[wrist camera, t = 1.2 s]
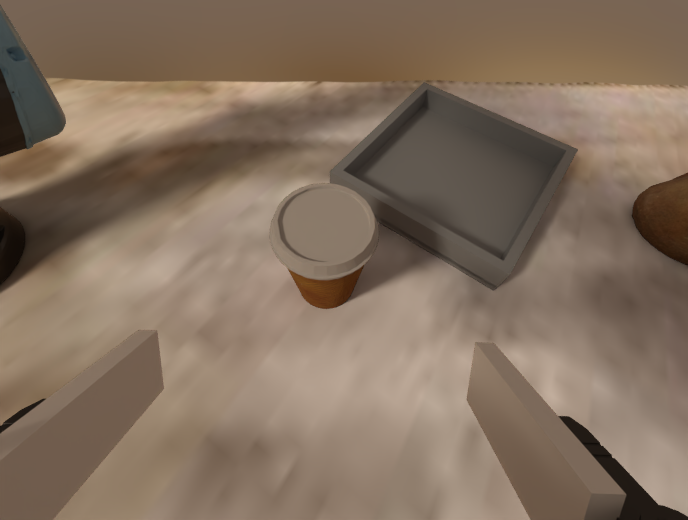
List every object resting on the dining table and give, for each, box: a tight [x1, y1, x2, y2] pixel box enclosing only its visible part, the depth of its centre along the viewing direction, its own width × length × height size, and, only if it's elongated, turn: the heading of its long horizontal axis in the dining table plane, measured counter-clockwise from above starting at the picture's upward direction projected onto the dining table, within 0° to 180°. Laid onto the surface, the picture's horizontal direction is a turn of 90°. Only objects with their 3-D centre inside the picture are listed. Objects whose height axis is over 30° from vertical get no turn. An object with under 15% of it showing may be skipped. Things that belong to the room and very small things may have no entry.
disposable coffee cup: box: [269, 183, 379, 309], centre depth 33 cm, size 10×10×12 cm
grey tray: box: [330, 83, 578, 290], centre depth 45 cm, size 24×24×4 cm
